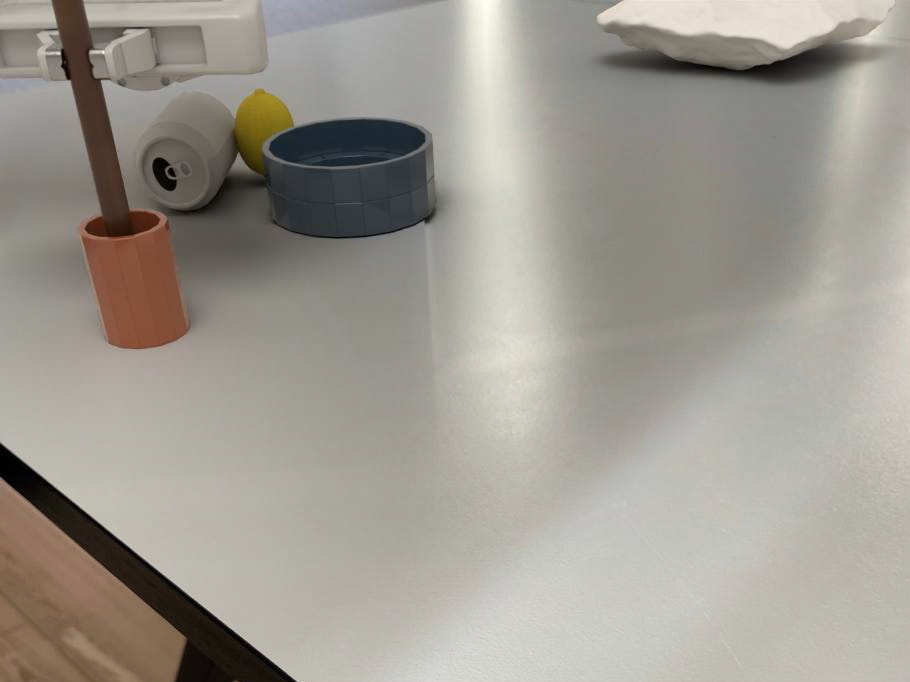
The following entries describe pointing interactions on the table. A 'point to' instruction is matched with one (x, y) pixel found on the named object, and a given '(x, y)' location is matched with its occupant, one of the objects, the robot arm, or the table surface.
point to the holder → (135, 281)
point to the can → (187, 151)
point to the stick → (93, 117)
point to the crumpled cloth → (740, 27)
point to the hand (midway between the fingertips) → (77, 66)
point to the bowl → (350, 176)
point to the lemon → (259, 126)
